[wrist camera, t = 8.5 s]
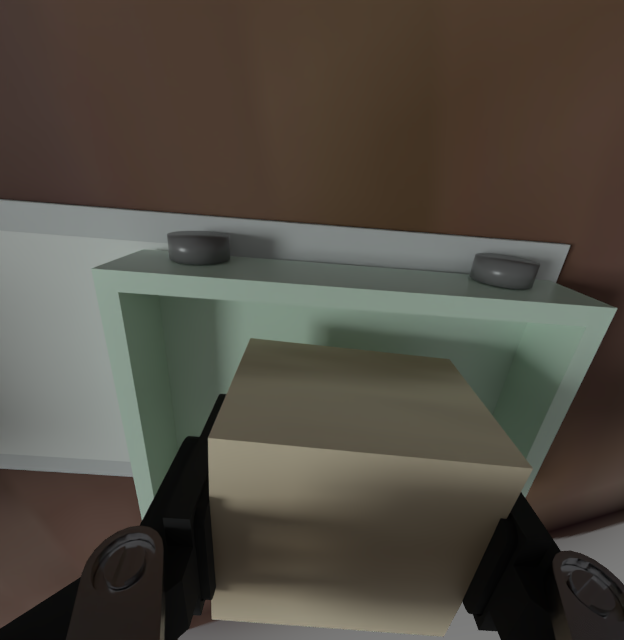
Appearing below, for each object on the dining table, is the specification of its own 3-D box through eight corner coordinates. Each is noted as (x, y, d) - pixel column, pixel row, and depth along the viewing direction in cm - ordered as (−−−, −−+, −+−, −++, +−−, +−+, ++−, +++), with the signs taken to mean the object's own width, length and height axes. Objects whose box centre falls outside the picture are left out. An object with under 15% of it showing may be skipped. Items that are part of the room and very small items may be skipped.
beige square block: (250, 337, 9) (208, 437, 6) (449, 358, 10) (532, 468, 6) (244, 482, 12) (211, 619, 8) (404, 496, 12) (443, 636, 8)
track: (-131, 454, 15) (-263, 534, 12) (-308, 174, 10) (-622, 168, 7) (468, 492, 16) (512, 579, 12) (564, 243, 11) (679, 270, 8)
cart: (174, 476, 15) (145, 536, 12) (141, 226, 10) (85, 239, 8) (465, 494, 15) (496, 557, 13) (555, 258, 11) (630, 281, 8)
